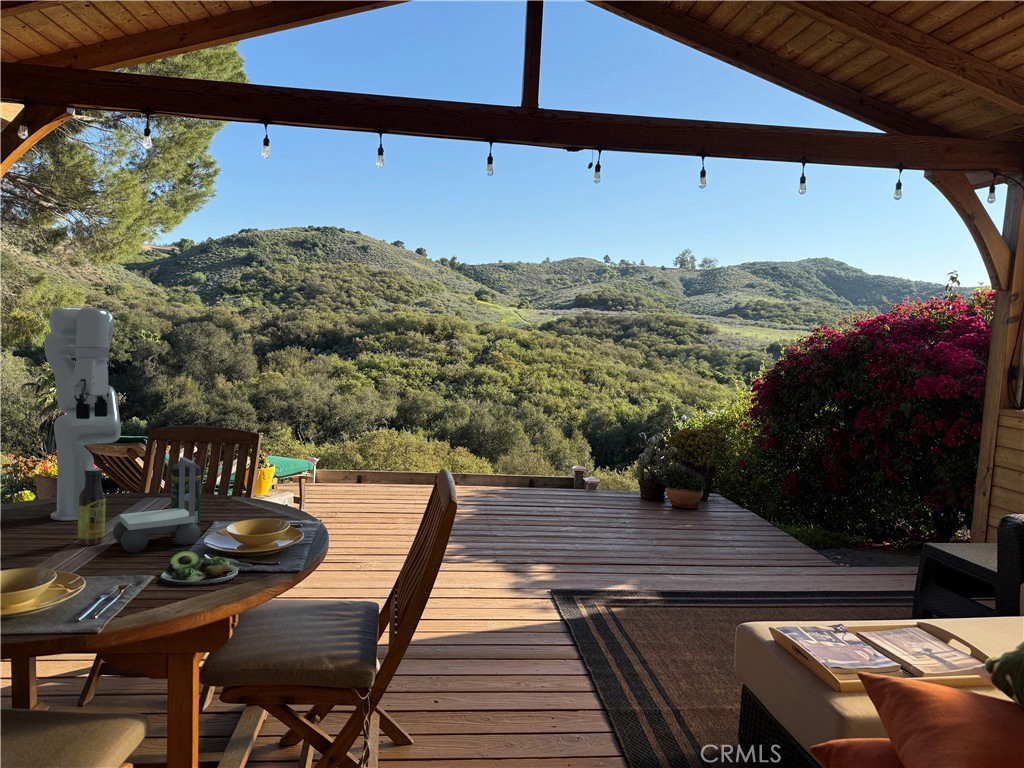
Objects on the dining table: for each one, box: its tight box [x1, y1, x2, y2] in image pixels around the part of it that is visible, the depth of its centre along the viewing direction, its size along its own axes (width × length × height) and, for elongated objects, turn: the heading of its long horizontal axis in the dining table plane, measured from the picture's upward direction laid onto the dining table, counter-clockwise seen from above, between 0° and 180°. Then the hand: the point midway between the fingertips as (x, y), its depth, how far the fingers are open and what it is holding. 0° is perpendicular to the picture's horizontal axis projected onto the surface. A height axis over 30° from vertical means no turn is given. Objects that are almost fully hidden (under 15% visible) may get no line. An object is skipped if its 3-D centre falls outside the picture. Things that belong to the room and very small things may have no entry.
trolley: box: [112, 456, 202, 554], centre depth 188 cm, size 12×19×22 cm, turn 130°
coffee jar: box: [170, 461, 202, 525], centre depth 209 cm, size 10×8×19 cm
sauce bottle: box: [76, 468, 107, 546], centre depth 186 cm, size 6×6×20 cm
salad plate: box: [159, 550, 253, 587], centre depth 166 cm, size 19×18×5 cm
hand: (92, 417), depth 188 cm, fingers open, 9 cm apart
